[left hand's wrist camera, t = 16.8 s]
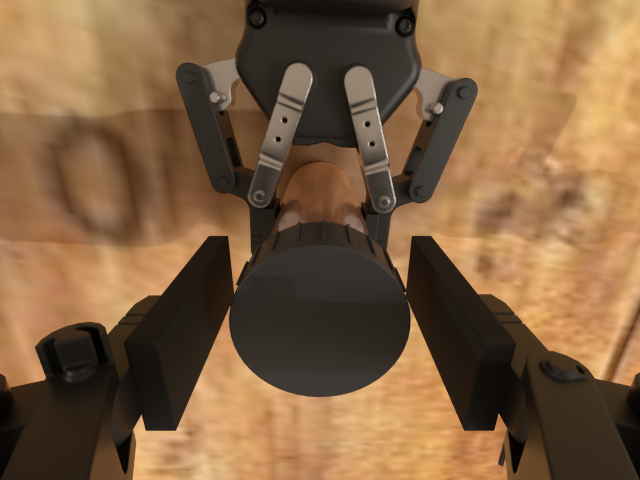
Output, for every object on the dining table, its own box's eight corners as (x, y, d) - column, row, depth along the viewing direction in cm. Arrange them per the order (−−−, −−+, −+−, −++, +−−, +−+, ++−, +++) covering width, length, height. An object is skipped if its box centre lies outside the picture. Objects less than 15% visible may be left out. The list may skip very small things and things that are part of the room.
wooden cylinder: (357, 165, 24) (407, 257, 10) (348, 228, 26) (380, 380, 12) (289, 157, 24) (247, 241, 10) (285, 222, 26) (243, 369, 12)
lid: (212, 253, 12) (191, 283, 10) (369, 193, 11) (379, 213, 9) (279, 373, 14) (273, 417, 12) (418, 329, 13) (434, 368, 11)
